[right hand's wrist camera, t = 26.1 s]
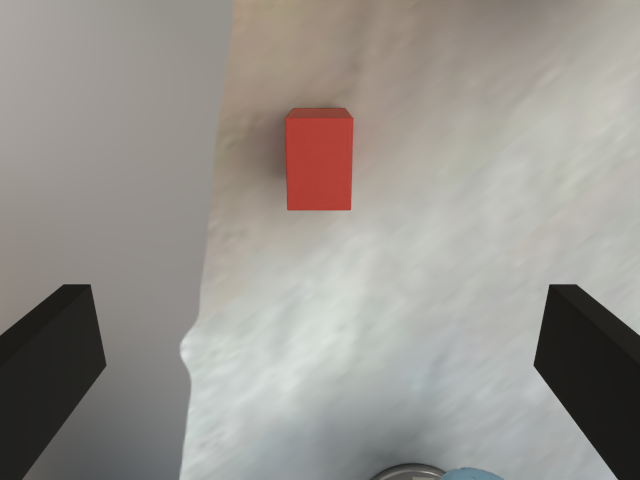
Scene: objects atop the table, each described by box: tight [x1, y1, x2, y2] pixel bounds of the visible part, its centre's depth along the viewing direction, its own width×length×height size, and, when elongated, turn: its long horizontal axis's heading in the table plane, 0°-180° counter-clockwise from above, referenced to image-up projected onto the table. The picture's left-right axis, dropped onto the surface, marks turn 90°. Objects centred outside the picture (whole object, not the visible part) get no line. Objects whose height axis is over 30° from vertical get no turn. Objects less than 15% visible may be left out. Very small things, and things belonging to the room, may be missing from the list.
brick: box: [285, 108, 353, 210], centre depth 43 cm, size 6×8×12 cm
